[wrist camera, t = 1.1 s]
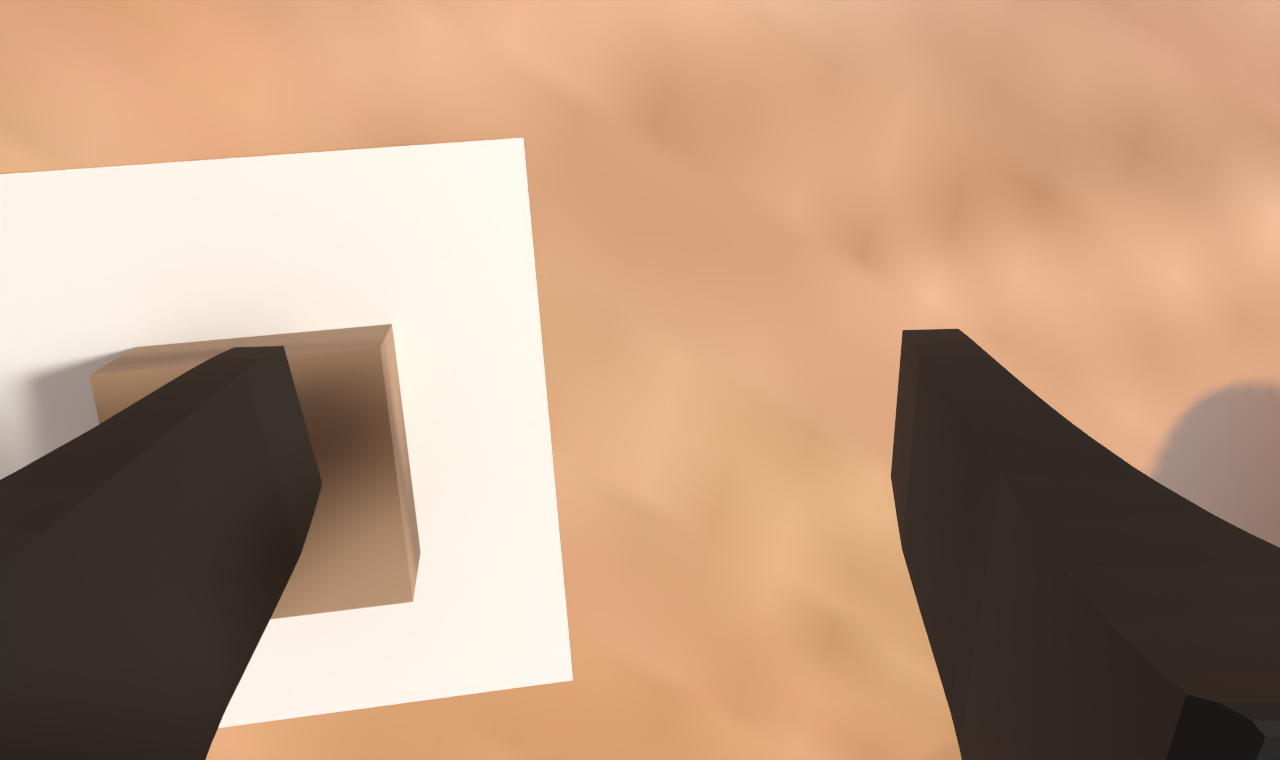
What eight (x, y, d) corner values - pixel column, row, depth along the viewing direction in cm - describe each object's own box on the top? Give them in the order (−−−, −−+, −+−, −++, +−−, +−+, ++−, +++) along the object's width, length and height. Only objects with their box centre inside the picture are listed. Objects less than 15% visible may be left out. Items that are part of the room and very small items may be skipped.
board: (563, 621, 27) (572, 680, 24) (-70, 701, 25) (-142, 776, 22) (518, 137, 24) (523, 137, 21) (-199, 188, 22) (-303, 195, 19)
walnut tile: (420, 552, 23) (412, 602, 20) (178, 580, 22) (140, 635, 20) (391, 324, 21) (380, 347, 19) (135, 347, 21) (89, 374, 18)
